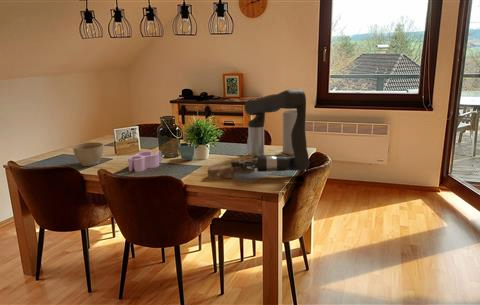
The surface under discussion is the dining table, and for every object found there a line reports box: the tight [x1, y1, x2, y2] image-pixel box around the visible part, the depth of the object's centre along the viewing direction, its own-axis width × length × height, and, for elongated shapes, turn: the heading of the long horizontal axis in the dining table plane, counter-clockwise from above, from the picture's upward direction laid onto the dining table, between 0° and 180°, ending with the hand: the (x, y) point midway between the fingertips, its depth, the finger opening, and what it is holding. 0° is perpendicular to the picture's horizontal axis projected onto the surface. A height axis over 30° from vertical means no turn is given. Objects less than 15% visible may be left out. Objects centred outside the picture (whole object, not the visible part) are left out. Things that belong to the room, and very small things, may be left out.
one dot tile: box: [207, 164, 235, 180], centre depth 192 cm, size 5×5×12 cm
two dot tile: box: [230, 158, 255, 172], centre depth 204 cm, size 5×5×12 cm
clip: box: [127, 149, 163, 173], centre depth 216 cm, size 20×12×7 cm, turn 153°
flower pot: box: [178, 142, 196, 161], centre depth 229 cm, size 9×9×9 cm
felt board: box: [228, 168, 277, 184], centre depth 198 cm, size 17×25×1 cm
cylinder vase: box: [282, 109, 297, 156], centre depth 237 cm, size 12×12×25 cm
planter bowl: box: [72, 141, 104, 167], centre depth 223 cm, size 16×16×11 cm
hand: (231, 164), depth 191 cm, fingers closed
